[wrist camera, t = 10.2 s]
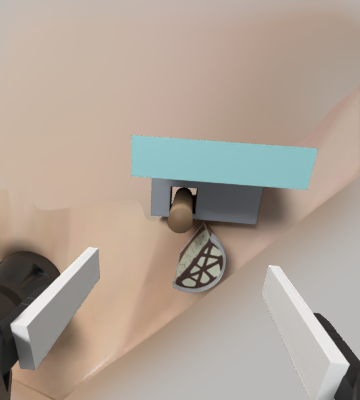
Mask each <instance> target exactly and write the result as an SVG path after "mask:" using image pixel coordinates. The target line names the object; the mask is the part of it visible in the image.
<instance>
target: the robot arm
mask: <svg viewBox="0 0 360 400" xmlns="http://www.w3.org/2000/svg"><path fill="white" fill-rule="evenodd" d="M99 278H100V271H99V253H98V248H91V247H88V248H87V249H86V250H85V251H84V252H83V253H82V254H81V255H80V256H79V257H78V258H77V259H76V260H75V261H74V262H73V263H72V264H71V265H70V266H69V267H68V268H67V269H66V270H65V271H64V272H63V273H62V274H61V275H60V274H59V272H58V270H57V269H56V267H55V266H54V265H53V264H52V263H51V262H50V261H49V260H47V259H46V258H44V257H43V256H41V255H38V254H36V253H32V252H17V253H14V254H12V255H10V256H9V257H7V258H5V259H4V260H2V261H1V262H0V400H10V396H11V383H12V369H11V368H12V367H13V366H14V364H15V363H16V362H17V361H18V360H19V365H20V368H22V369H30V370H36V369H37V367H38V366H39V365H40V363H41V362H42V360H43V359H44V357H45V356H46V355H47V353H48V352H49V350H50V349H51V347H52V346H53V344H54V343H55V342H56V340H57V339H58V337H59V336H60V334H61V333H62V332H63V330H64V329H65V327H66V326H67V324H68V323H69V322H70V320H71V319H72V317H73V316H74V314H75V313H76V311H77V310H78V309H79V307H80V306H81V304H82V303H83V301H84V300H85V299H86V297H87V296H88V294H89V293H90V291H91V290H92V288H93V287H94V286H95V284H96V283H97V281H98V280H99ZM262 297H263V299H264V301H265V304H266V306H267V308H268V310H269V312H270V314H271V316H272V318H273V321H274V323H275V325H276V327H277V329H278V331H279V334H280V336H281V338H282V340H283V342H284V344H285V346H286V349H287V351H288V353H289V355H290V357H291V360H292V362H293V364H294V366H295V368H296V370H297V372H298V374H299V377H300V379H301V381H302V383H303V385H304V387H305V390H306V392H307V394H308V396H309V398H310V400H334V399H335V400H360V361H359V359H358V358H357V357H356V356H355V354H354V353H353V352H352V350H351V349H350V348H349V347H348V345H347V344H346V343H345V341H343V340H342V338H341V336H340V335H339V334H338V333H337V332H336V330H335V329H334V327H333V326H332V325H331V323H330V322H329V321H328V320H327V319H325V318H324V317H323V316H322V315H321V314H319V313H312V311H311V310H310V309H309V307H308V306H307V305H306V303H305V302H304V300H303V299H302V298H301V296H300V295H299V293H298V292H297V291H296V289H295V288H294V287H293V285H292V284H291V282H290V281H289V279H288V278H287V277H286V275H285V274H284V273H283V271H282V270H281V268H280V267H279V266H271V265H269V266H268V271H267V275H266V279H265V283H264V287H263V291H262Z"/></svg>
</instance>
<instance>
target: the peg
mask: <svg viewBox="0 0 360 400" xmlns="http://www.w3.org/2000/svg"><path fill="white" fill-rule="evenodd" d="M167 223H168V226H169V228H170V229H171V230H172V231H174V232H176V233H185V232H187V231H188V230H189V229H190V228H191V226H192V193H191V191H190V190H189V189H188V188H185V187H183V188H180V189H178V190H177V192H176V195H175V198H174V201H173V204H172V207H171V210H170V213H169V216H168V220H167Z"/></svg>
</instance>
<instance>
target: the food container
mask: <svg viewBox="0 0 360 400" xmlns="http://www.w3.org/2000/svg"><path fill="white" fill-rule="evenodd" d="M225 266H226V252H225V249H224V246H223V244H222V243H221V241H220V240H219V239H218V238H217V237H216V236H215V235H214V234H213V232H212V230H211V228H210V227H209V226H208V225H207V224H206V223H205V222H203V223H202V225H201V226H200V227H199V229H198V230H197V231H196V232H195V234H194V235H193V236H192V238H191V239H190V240H189V241H188V243H187V244H186V245H185V247H184V248H183V249H182V250H181V252H180V253H179V259H178V264H177V269H176V275H175V280H174V281H173V288H175V289H177V290H180V291H183V292H190V293H195V292H202V291H205V290H207V289H209V288H211V287H213V286H214V285H215V284H216V283H217V282H218V281H219V280H220V279H221V277H222V275H223V273H224V270H225Z"/></svg>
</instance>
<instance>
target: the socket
mask: <svg viewBox="0 0 360 400" xmlns="http://www.w3.org/2000/svg"><path fill="white" fill-rule="evenodd" d="M317 150H318V148H304V147H290V146H274V145H262V144H247V143H233V142H219V141H205V140H190V139H177V138H162V137H149V136H135V135H131V176H137V177H150V178H152V191H151V215H153V216H165V217H168V216H169V213H170V210H171V207H172V206H171V201H172V186H176V187H186V188H197V192H196V203H195V207H192V219H199V220H211V221H223V222H234V223H246V224H256V221H257V216H258V211H259V206H260V201H261V196H262V191H263V187H276V188H289V189H301V190H307V188H308V184H309V180H310V177H311V173H312V169H313V165H314V161H315V158H316V154H317Z"/></svg>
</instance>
